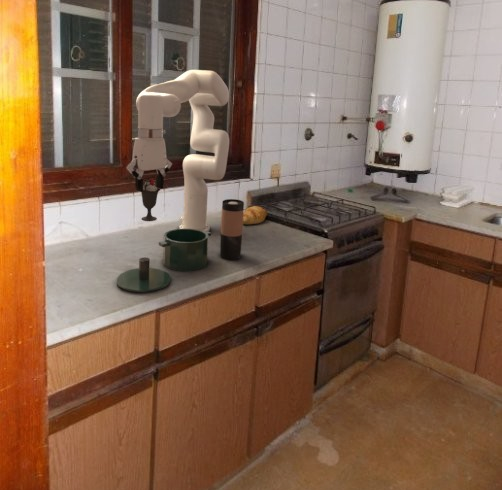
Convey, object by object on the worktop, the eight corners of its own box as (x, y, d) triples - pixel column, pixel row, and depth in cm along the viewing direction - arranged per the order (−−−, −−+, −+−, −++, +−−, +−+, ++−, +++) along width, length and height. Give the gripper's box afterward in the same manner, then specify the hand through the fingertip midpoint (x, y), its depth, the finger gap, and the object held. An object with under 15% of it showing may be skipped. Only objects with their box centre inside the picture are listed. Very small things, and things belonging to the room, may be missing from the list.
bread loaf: (247, 234, 191) (255, 221, 187) (230, 220, 194) (238, 206, 191) (269, 222, 209) (277, 210, 205) (253, 209, 212) (261, 197, 209)
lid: (107, 279, 131) (107, 257, 130) (152, 267, 142) (152, 246, 141) (134, 299, 120) (134, 274, 119) (180, 284, 131) (181, 261, 130)
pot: (147, 262, 146) (148, 234, 144) (195, 249, 160) (196, 224, 158) (173, 276, 136) (174, 247, 134) (221, 262, 150) (223, 235, 148)
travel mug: (244, 254, 158) (247, 200, 154) (236, 261, 151) (239, 205, 147) (224, 250, 161) (227, 198, 157) (216, 257, 153) (218, 202, 150)
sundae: (157, 222, 139) (157, 176, 136) (136, 221, 139) (136, 175, 137) (161, 216, 146) (162, 172, 143) (141, 215, 146) (142, 171, 143)
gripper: (167, 131, 146) (166, 184, 149) (119, 133, 134) (119, 190, 137) (180, 134, 140) (178, 188, 144) (131, 136, 128) (131, 195, 132)
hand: (149, 188), depth 141 cm, fingers closed on sundae, 6 cm apart
